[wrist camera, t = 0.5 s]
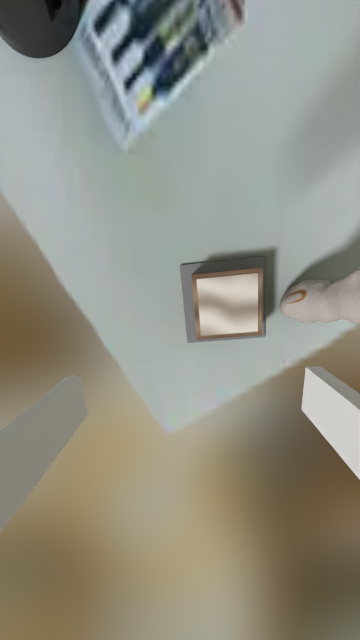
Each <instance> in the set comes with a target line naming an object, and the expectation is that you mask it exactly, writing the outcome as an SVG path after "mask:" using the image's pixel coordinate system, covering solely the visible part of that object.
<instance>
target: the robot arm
mask: <svg viewBox="0 0 360 640" xmlns="http://www.w3.org/2000/svg"><path fill="white" fill-rule="evenodd" d="M80 5H81V0H0V36H1V37H2V38H3V40H4V41H5V42H6V43H7V44H8V45H9V46H10V47H12V48H13V49H14V50H16V51H17V52H19V53H21V54H23V55H25V56H28V57H32V58H44V57H48V56H51V55H53V54H55V53H57V52H58V51H59V50H61V49H62V48H63V47H64V46H65V45H66V44H67V42H68V41H69V39H70V38H71V36H72V34H73V32H74V30H75V27H76V25H77V21H78V18H79V13H80ZM302 410H303V412H304V413H305V414H306V415H307V416H308V418H309V419H310V420H311V421H312V423H313V424H314V425H315V426H316V427H317V429H318V430H319V431H320V432H321V433H322V435H323V436H324V437H325V438H326V439H327V441H328V442H329V443H330V444H331V445H332V447H333V448H334V449H335V450H336V451H337V453H338V454H339V455H340V456H341V457H342V458H343V460H344V461H345V462H346V464H348V466H349V467H350V468H351V470H352V471H353V472H354V473H355V474H356V476H357V477H358V478H359V479H360V394H359V393H357V392H356V391H354V390H353V389H352V388H350V387H349V386H347V385H346V384H344V383H343V382H342V381H340V380H338V379H337V378H336V377H335V376H333V375H332V374H330V373H329V372H327V371H326V370H325V369H323V368H322V367H306V371H305V381H304V392H303V400H302ZM87 415H88V410H87V405H86V401H85V396H84V392H83V387H82V384H81V378H80V375H71V376H67V377H66V378H64V379H63V380H62V381H61V382H59V383H58V384H57V385H56V386H55V387H53V388H52V389H51V390H50V391H48V392H47V393H46V394H45V395H43V396H42V397H41V398H40V399H39V400H37V401H36V402H35V403H34V404H32V405H31V406H30V407H29V408H28V409H26V410H25V411H24V412H23V413H21V414H20V415H19V416H18V417H17V418H15V419H14V420H13V421H12V422H10V423H9V424H8V425H7V426H6V427H4V428H3V429H2V430H1V431H0V533H1V532H2V530H3V529H4V528H5V526H6V525H7V524H8V522H9V521H10V519H11V518H12V517H13V515H14V514H15V513H16V511H17V510H18V509H19V507H20V506H21V505H22V503H23V502H24V500H25V499H26V498H27V496H28V495H29V494H30V492H31V491H32V490H33V488H34V487H35V486H36V484H37V483H38V481H39V480H40V479H41V477H42V476H43V474H44V473H45V472H46V471H47V469H48V468H49V466H50V465H51V464H52V462H53V461H54V460H55V458H56V457H57V455H58V454H59V453H60V452H61V450H62V449H63V448H64V446H65V445H66V443H67V442H68V441H69V439H70V438H71V437H72V435H73V434H74V433H75V431H76V430H77V429H78V427H79V426H80V424H81V423H82V421H83V420H84V419H85V418H86V416H87Z"/></svg>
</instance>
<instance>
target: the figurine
mask: <svg viewBox="0 0 360 640" xmlns="http://www.w3.org/2000/svg"><path fill="white" fill-rule="evenodd" d="M280 311H281V313H283V314H284V315H286V316H288V317H290V318H292V319H295V320H298V321H300V322H306V323H314V322H322V323H330V322H334V321H337V320H338V319H343V320H347V321H350V322H353V323H359V324H360V269H357V270H354V271H352V272H351V273H350V274H349V275H347V276H345V277H343V278H340V279H337V280H336V281H334V282H332V281H330V280H314V279H308V280H304V281H302V282H300V283H299V284H296V285H294V286H293V287H291V288H290V289H288V290H287V291H286V292H285V294H284V295H283V297H282V298H281V301H280Z"/></svg>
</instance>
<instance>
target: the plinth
mask: <svg viewBox="0 0 360 640" xmlns="http://www.w3.org/2000/svg"><path fill="white" fill-rule="evenodd" d="M191 277H192V289H193V300H194V312H195V324H196V335H197V340H203V339H216V338H229V337H242V336H255V335H262V282H263V268H252V269H243V270H233V271H224V272H214V273H205V274H195V275H191Z"/></svg>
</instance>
